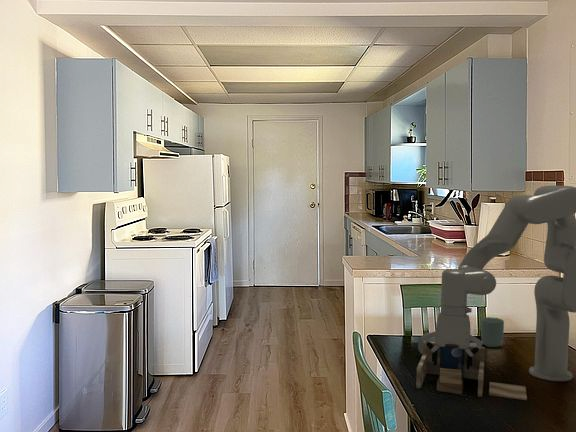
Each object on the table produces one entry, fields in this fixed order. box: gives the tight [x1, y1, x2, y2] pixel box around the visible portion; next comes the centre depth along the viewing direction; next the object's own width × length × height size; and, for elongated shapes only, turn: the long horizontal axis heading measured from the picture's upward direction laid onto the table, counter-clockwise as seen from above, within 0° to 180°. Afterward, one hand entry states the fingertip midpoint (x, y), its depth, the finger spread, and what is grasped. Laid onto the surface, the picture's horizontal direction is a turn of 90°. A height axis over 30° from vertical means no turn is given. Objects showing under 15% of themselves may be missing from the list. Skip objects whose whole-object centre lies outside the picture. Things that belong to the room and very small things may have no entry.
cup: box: [480, 316, 505, 348], centre depth 217 cm, size 8×8×10 cm
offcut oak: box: [439, 368, 463, 384], centre depth 170 cm, size 4×6×3 cm, turn 75°
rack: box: [415, 341, 486, 398], centre depth 175 cm, size 16×18×10 cm
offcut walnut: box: [436, 376, 464, 395], centre depth 170 cm, size 4×7×3 cm, turn 68°
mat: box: [488, 381, 528, 401], centre depth 169 cm, size 10×10×1 cm
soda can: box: [440, 344, 464, 381], centre depth 177 cm, size 7×7×12 cm
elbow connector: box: [417, 332, 477, 356], centre depth 195 cm, size 18×11×20 cm
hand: (451, 366), depth 177 cm, fingers open, 9 cm apart
